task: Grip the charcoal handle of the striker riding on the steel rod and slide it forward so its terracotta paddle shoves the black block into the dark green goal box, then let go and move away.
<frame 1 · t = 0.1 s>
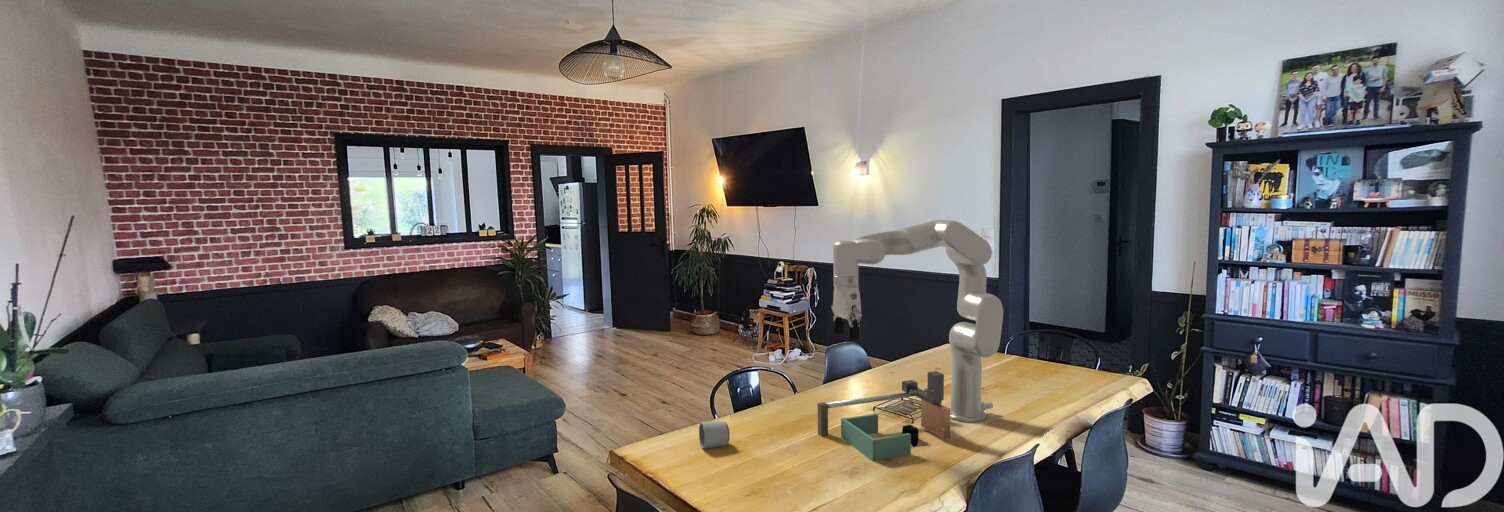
hand: (846, 336, 197), 31 cm above the table, tool pointing down, fingers open, 9 cm apart
goal box: (875, 445, 191), on the table
rod rail: (877, 425, 207), on the table
black block: (910, 442, 195), on the table
striker: (926, 398, 202), point 10 cm above the table, slide at 0.0 cm
ceramic mug: (712, 445, 194), on the table
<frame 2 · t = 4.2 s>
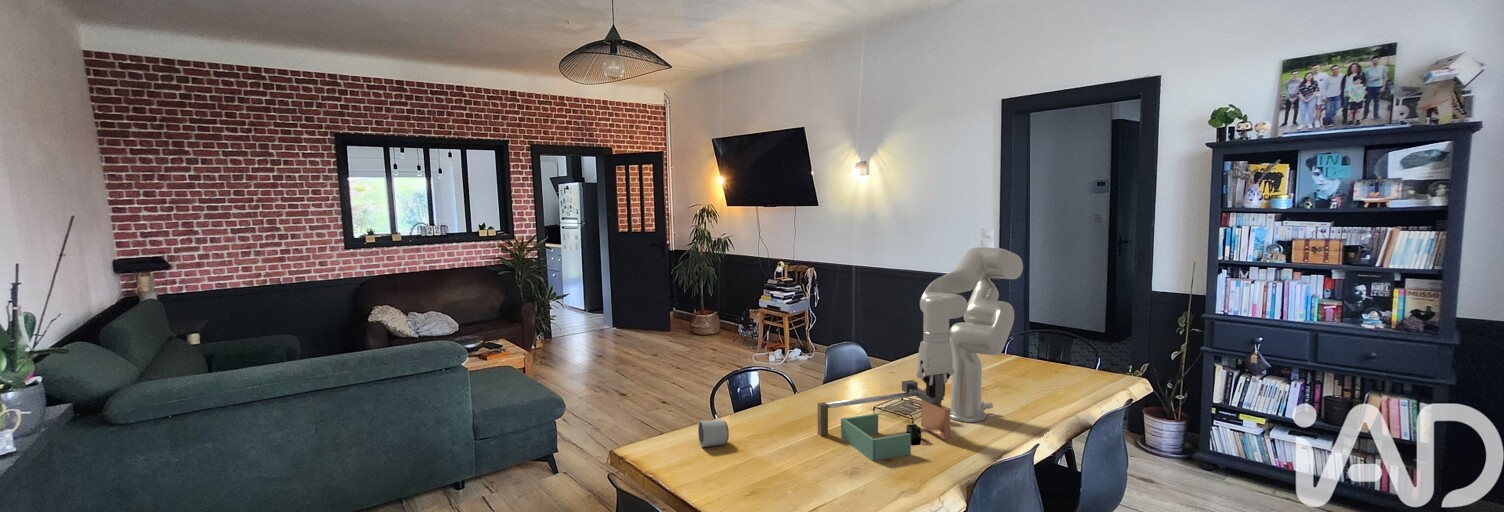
hand: (935, 395, 197), 13 cm above the table, tool pointing down, fingers closed on striker, 3 cm apart
black block: (913, 441, 196), on the table
striker: (926, 398, 202), point 10 cm above the table, slide at 0.0 cm, touching gripper
ceramic mug: (711, 444, 195), on the table
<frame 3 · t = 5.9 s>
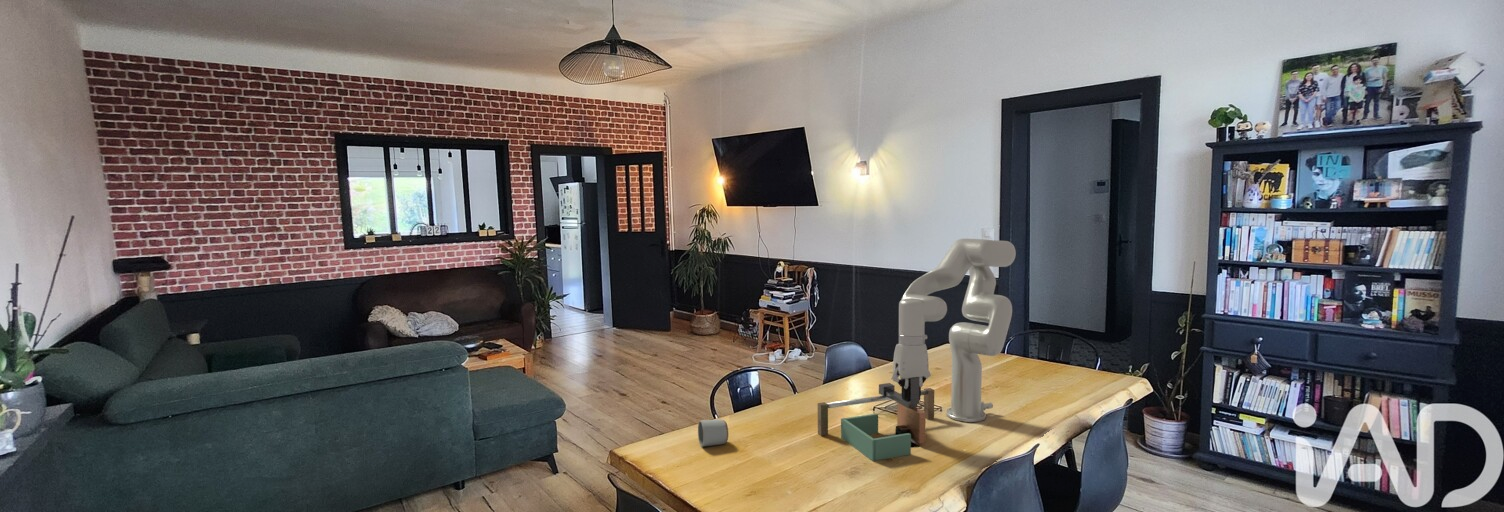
hand: (911, 399, 194), 13 cm above the table, tool pointing down, fingers closed on striker, 3 cm apart
black block: (902, 442, 195), on the table, touching striker
striker: (902, 401, 199), point 11 cm above the table, slide at 8.7 cm, touching gripper, black block
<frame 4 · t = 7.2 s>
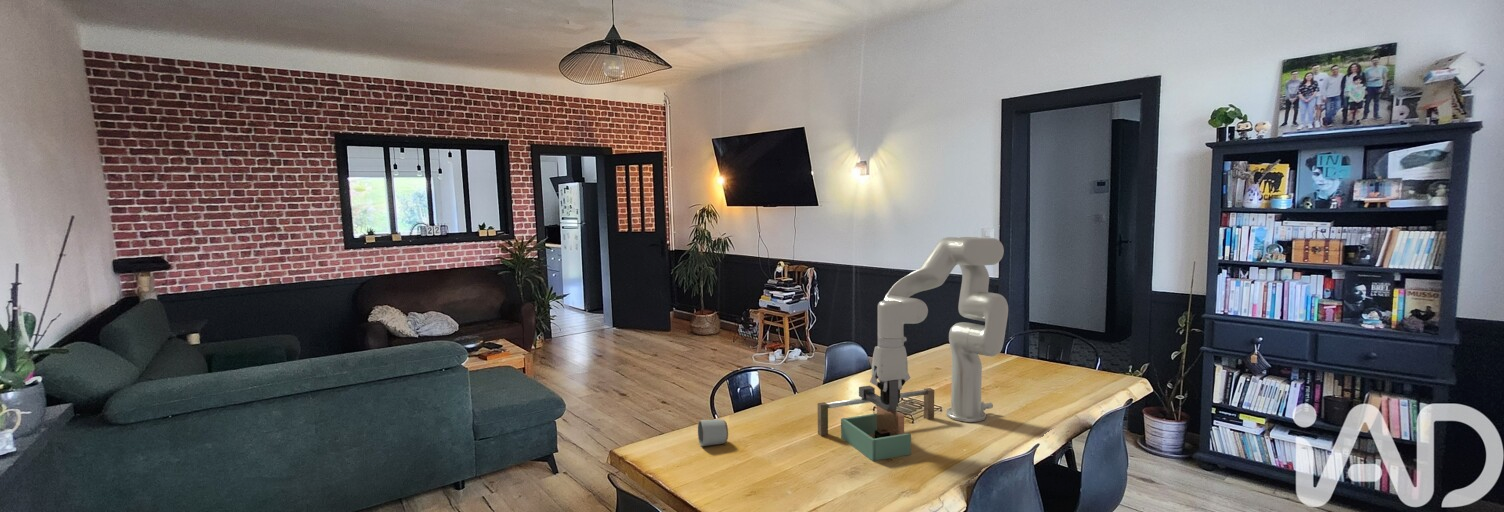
hand: (890, 402, 192), 13 cm above the table, tool pointing down, fingers closed on striker, 3 cm apart
black block: (882, 446, 192), on the table
striker: (881, 404, 196), point 10 cm above the table, slide at 15.9 cm, touching gripper
everything else where it was.
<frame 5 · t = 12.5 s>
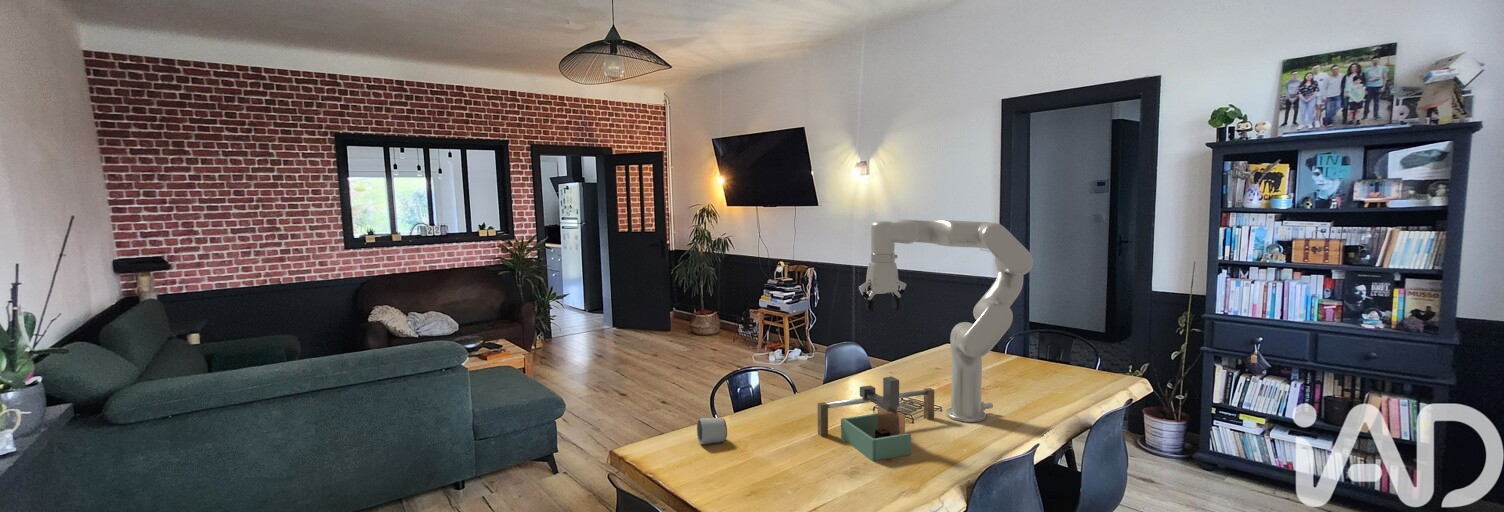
hand: (882, 310, 212), 36 cm above the table, tool pointing down, fingers open, 9 cm apart
striker: (882, 404, 196), point 10 cm above the table, slide at 15.7 cm
ceramic mug: (710, 441, 197), on the table
at the end: black block inside the target area (3.1 cm from its centre), on the table; striker slide at 15.7 cm; black block tilted 2° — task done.
